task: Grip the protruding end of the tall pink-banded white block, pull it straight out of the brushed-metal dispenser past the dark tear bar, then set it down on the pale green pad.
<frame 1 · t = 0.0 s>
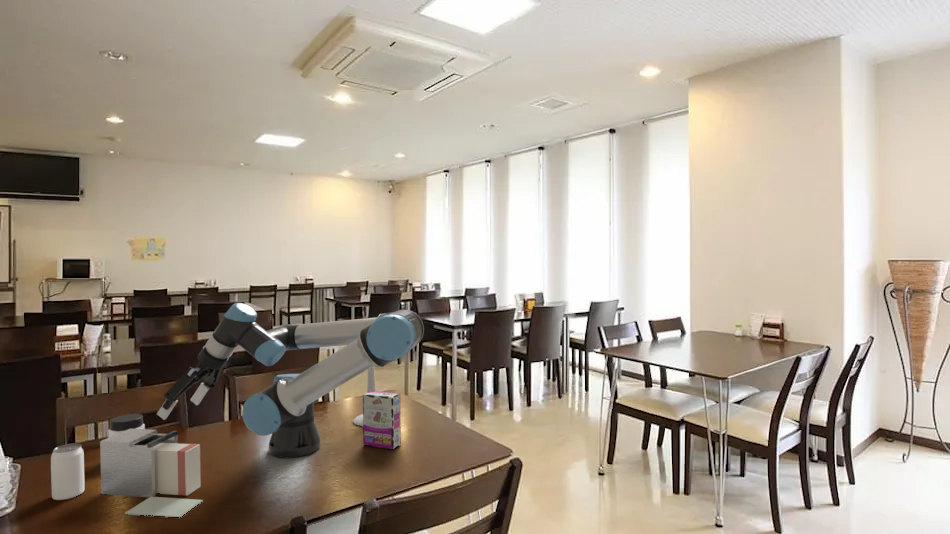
hand: (178, 409, 150), 15 cm above the table, tool tilted 35°, fingers open, 13 cm apart
candy bar box: (382, 446, 162), on the table
candlestick: (371, 421, 185), on the table
pink-banded white block: (169, 489, 132), on the table
can: (68, 495, 129), on the table
dispenser: (141, 487, 133), on the table
pad: (164, 507, 123), on the table
jar: (127, 458, 153), on the table
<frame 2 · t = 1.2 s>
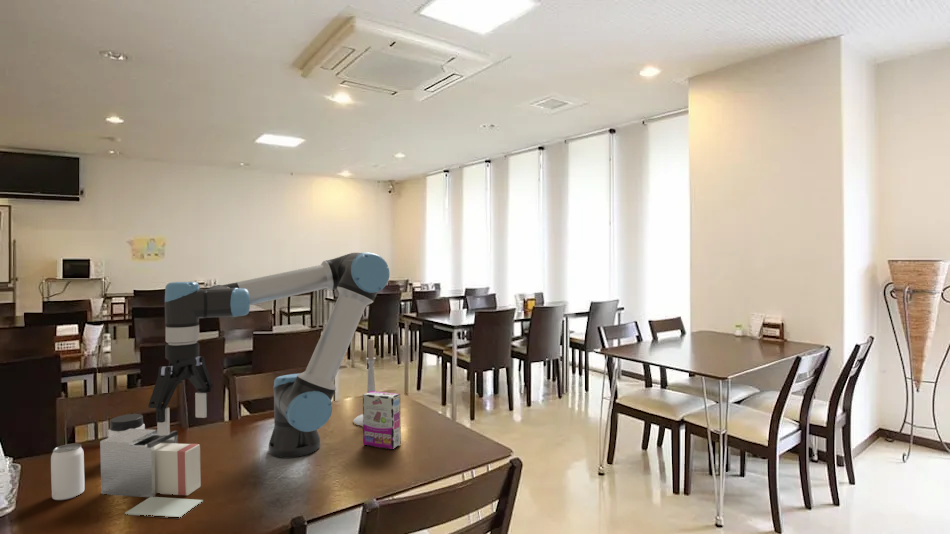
hand: (183, 425, 131), 17 cm above the table, tool pointing down, fingers open, 13 cm apart
nothing on the table moved.
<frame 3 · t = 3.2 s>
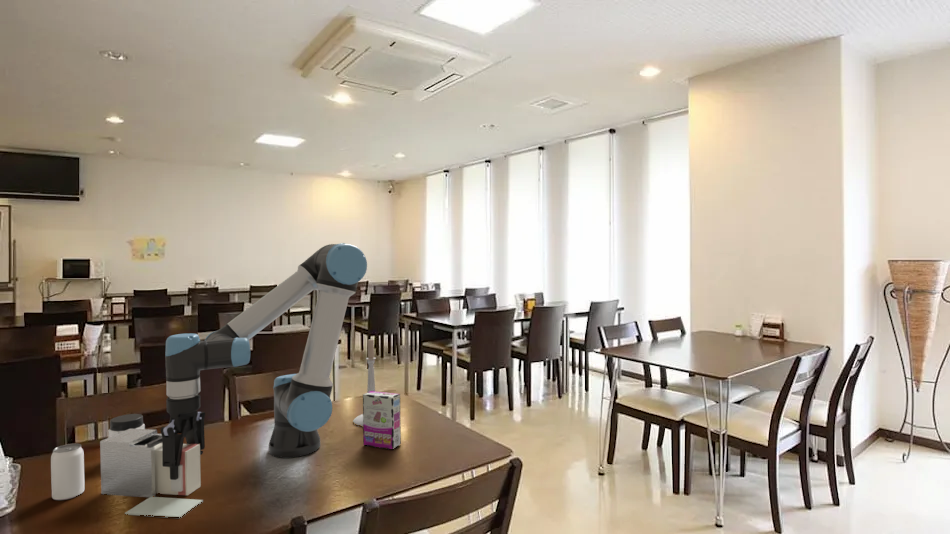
hand: (185, 485, 132), 1 cm above the table, tool pointing down, fingers closed on pink-banded white block, 5 cm apart
pink-banded white block: (169, 489, 132), on the table, touching gripper
everything else where it was.
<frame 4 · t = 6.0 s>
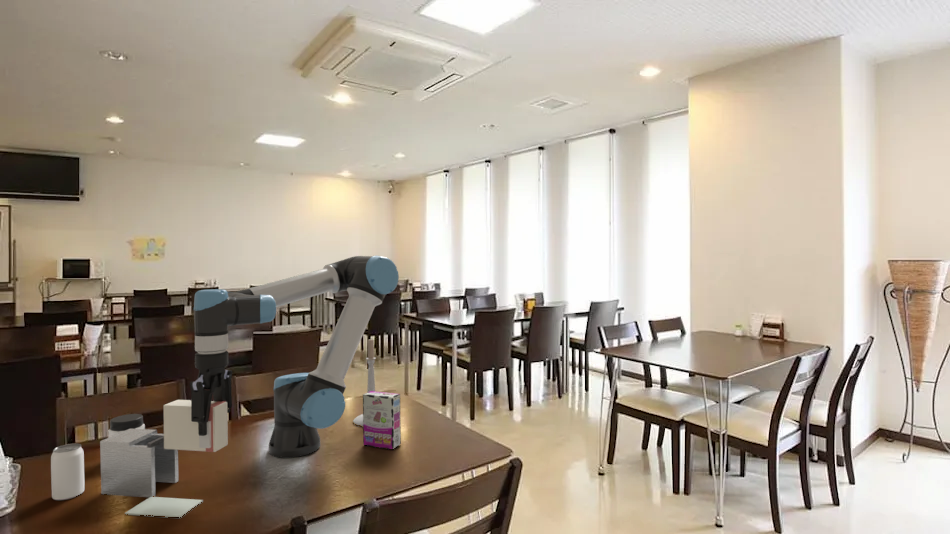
hand: (212, 442, 130), 13 cm above the table, tool pointing down, fingers closed on pink-banded white block, 5 cm apart
pink-banded white block: (196, 446, 130), point 12 cm above the table, touching gripper
everything else where it was.
when the fingers open (3 cm above the table, at t = 8.7 s): pink-banded white block drops 1 cm, resting on pad.
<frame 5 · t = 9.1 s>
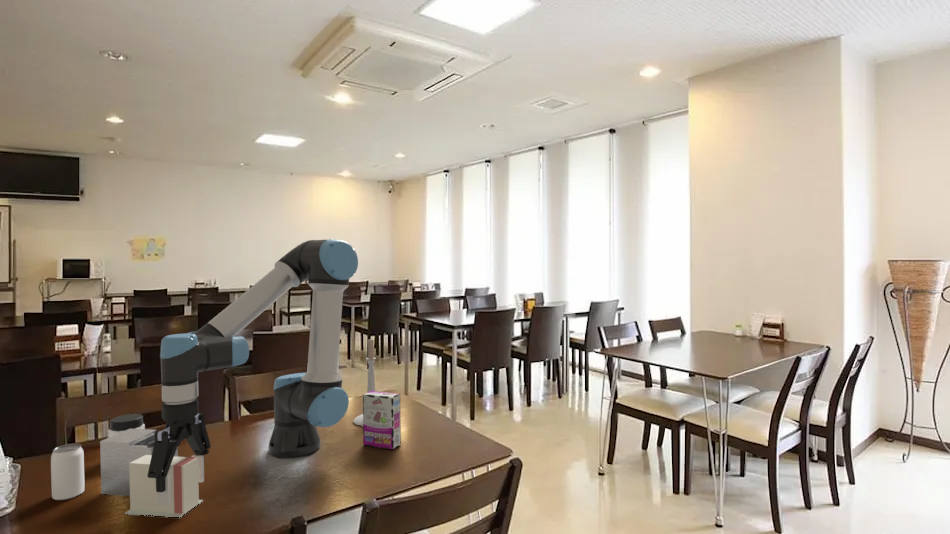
hand: (181, 492, 122), 4 cm above the table, tool pointing down, fingers open, 11 cm apart
pink-banded white block: (165, 506, 123), resting on pad
everything else where it was.
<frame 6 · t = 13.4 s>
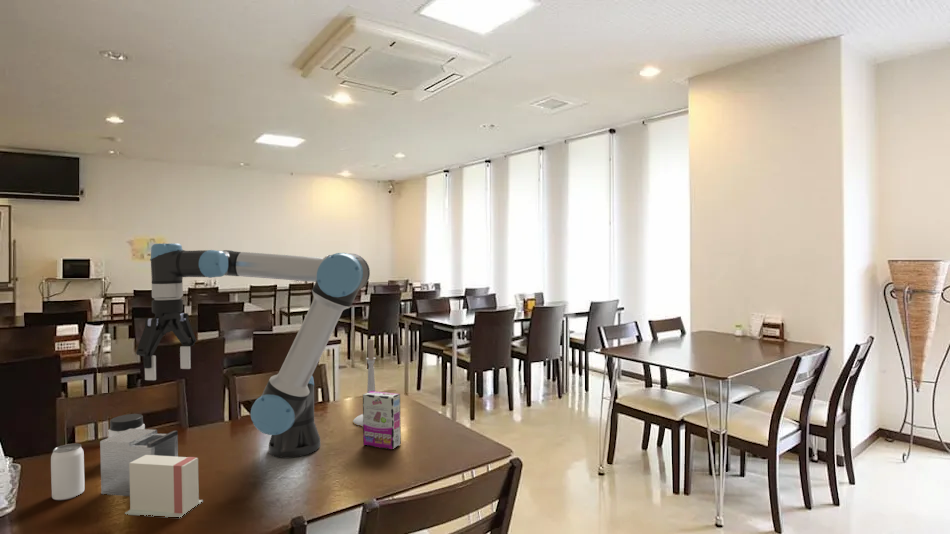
hand: (168, 374, 145), 27 cm above the table, tool pointing down, fingers open, 13 cm apart
nothing on the table moved.
at the end: pink-banded white block inside the target area on the pad (0.1 cm from its centre), point 0.4 cm above the pad's base; pink-banded white block moved 10.8 cm from its start; the gripper is holding nothing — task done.
